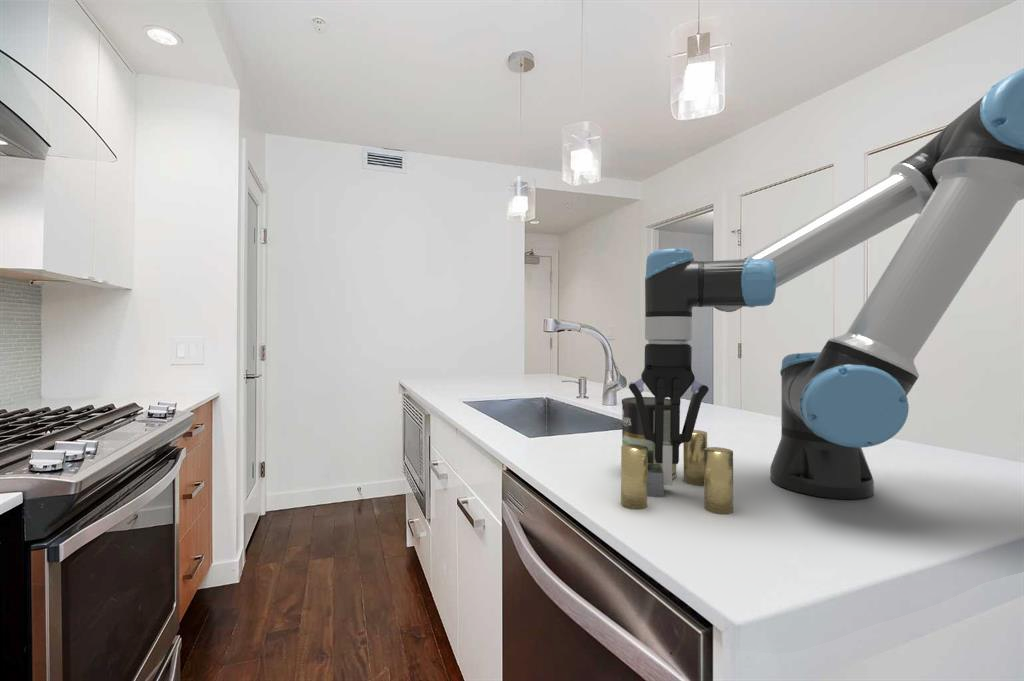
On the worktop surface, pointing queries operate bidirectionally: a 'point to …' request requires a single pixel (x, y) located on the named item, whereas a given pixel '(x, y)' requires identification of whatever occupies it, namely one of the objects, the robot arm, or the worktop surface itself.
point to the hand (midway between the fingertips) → (666, 482)
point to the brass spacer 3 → (718, 480)
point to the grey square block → (655, 481)
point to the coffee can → (633, 427)
